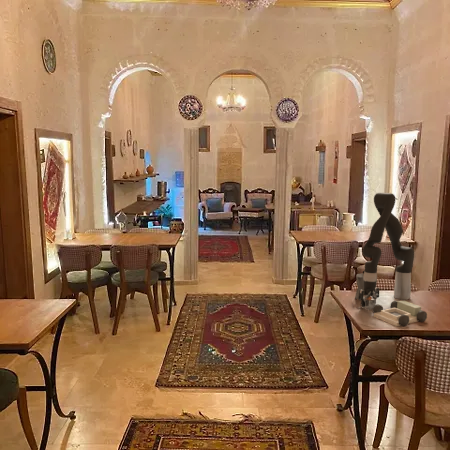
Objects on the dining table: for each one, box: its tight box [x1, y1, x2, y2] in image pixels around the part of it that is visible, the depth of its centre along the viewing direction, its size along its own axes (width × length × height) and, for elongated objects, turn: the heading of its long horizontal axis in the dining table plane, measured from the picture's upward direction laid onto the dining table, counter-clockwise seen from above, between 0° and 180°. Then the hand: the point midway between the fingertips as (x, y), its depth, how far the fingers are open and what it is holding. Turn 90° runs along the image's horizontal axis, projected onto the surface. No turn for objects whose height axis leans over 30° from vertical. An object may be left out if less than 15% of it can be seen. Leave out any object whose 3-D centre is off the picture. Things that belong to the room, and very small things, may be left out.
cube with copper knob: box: [361, 296, 377, 311], centre depth 263 cm, size 6×6×7 cm
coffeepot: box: [354, 270, 366, 301], centre depth 280 cm, size 15×9×18 cm, turn 128°
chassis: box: [372, 300, 428, 327], centre depth 247 cm, size 22×20×7 cm
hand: (368, 305), depth 263 cm, fingers open, 8 cm apart
